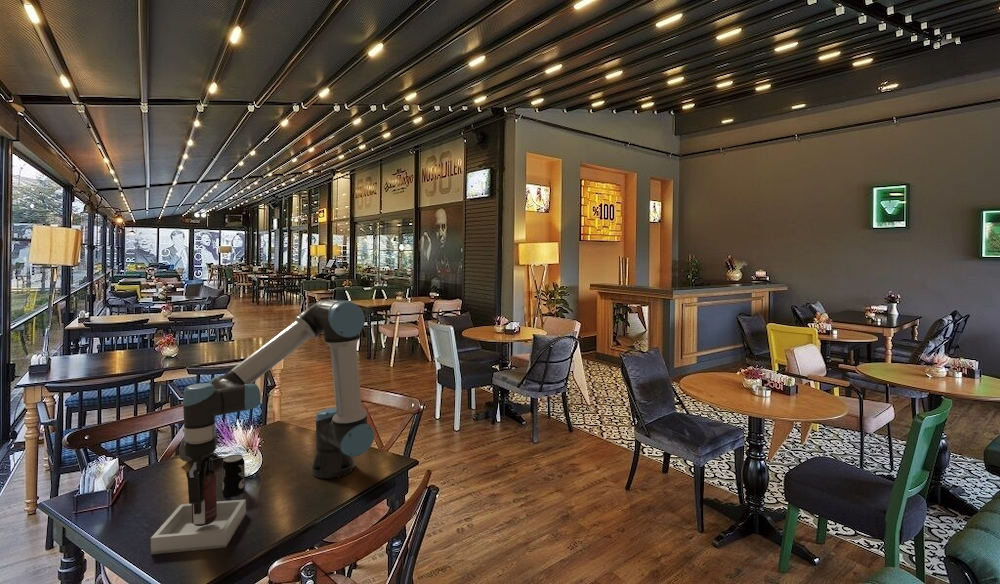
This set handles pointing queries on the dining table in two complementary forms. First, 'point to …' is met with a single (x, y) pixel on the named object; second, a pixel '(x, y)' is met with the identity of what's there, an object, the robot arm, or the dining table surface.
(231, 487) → the beverage can
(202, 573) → the dining table surface
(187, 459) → the decorative stone
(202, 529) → the bus tub
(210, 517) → the can
